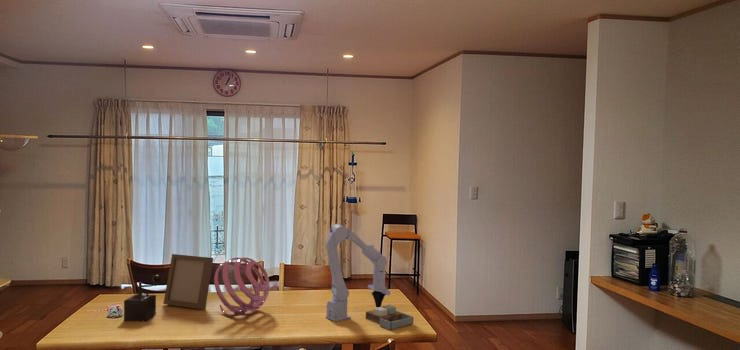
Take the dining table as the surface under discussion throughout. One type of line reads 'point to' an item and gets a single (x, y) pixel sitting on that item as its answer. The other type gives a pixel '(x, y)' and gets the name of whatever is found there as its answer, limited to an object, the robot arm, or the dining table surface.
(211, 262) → the photo frame
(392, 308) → the sage tile
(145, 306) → the manual coffee grinder
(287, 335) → the dining table surface
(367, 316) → the board
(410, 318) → the tray
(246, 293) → the spiral basket
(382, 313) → the beige block
